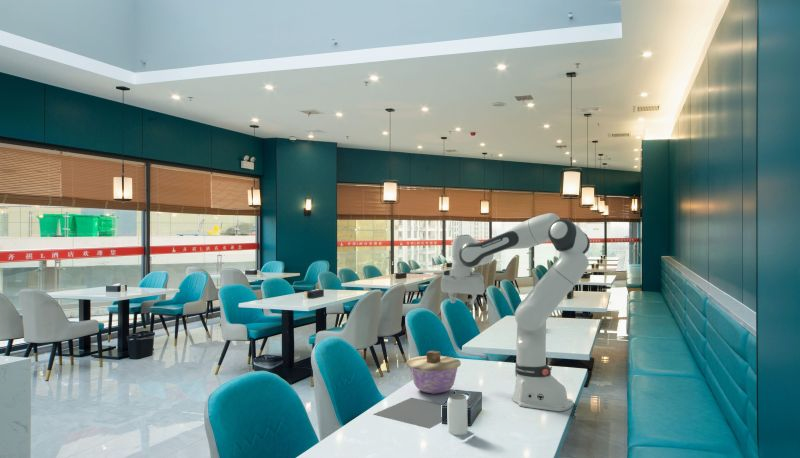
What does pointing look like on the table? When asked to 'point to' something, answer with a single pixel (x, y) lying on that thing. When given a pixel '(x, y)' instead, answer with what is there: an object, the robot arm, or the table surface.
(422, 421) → the rubber mat
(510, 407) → the table surface
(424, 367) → the oak bowl cover
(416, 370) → the bowl of food
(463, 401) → the can
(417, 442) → the table surface
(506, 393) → the table surface
